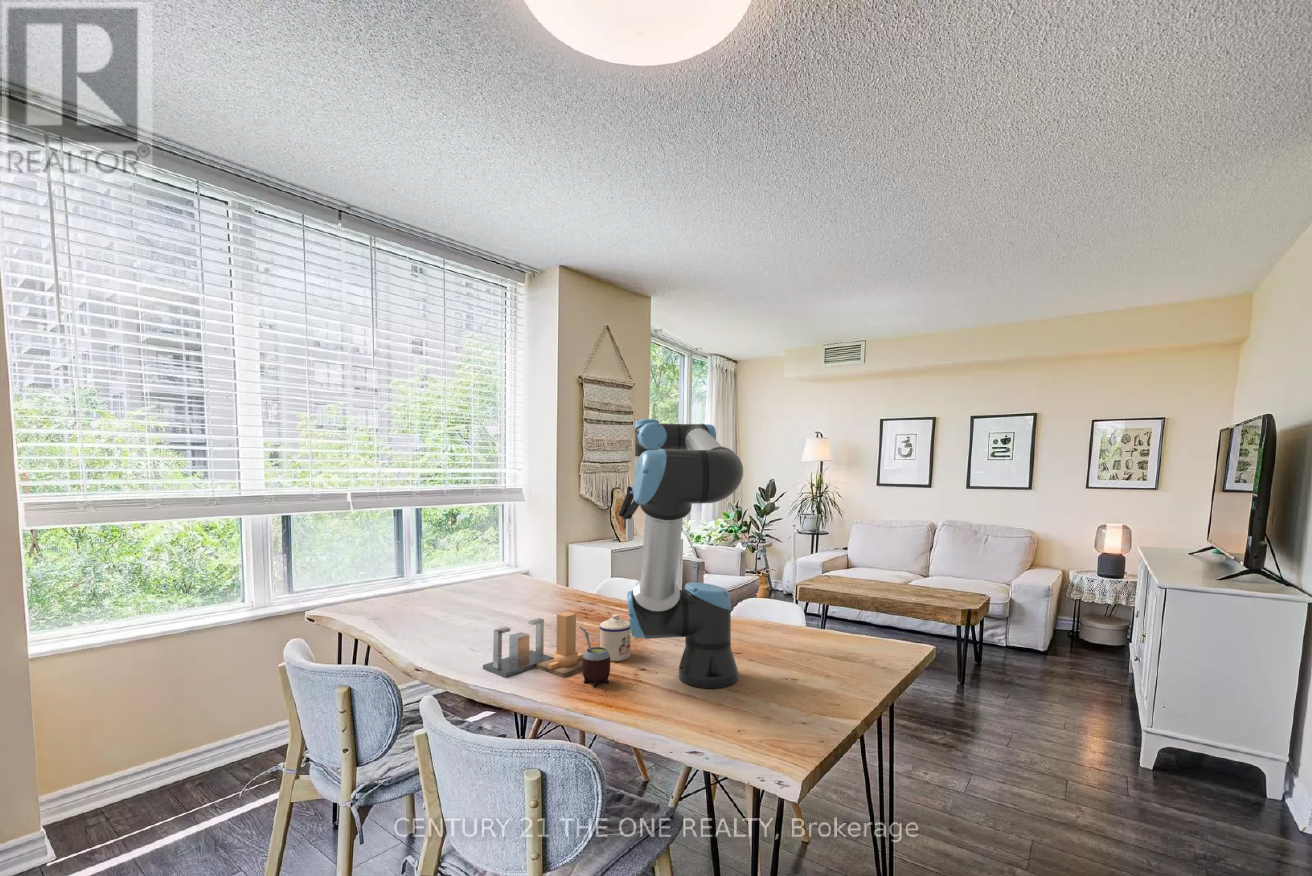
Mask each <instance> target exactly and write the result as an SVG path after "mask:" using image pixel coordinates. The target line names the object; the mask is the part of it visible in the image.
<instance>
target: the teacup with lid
mask: <svg viewBox="0 0 1312 876" xmlns="http://www.w3.org/2000/svg"><path fill="white" fill-rule="evenodd" d="M599 629H600V630H599V631H600V632H599V647H603V648H605V649H607V651H608V652H609V654H610V660H611V662H621V661H622V662H623V661H626V660H627V659H629V658H630V657H631V629H630V621H628V620H625V619H623V618H621V617H620V615H619V614H617V613H616V614H615V613H614V614H612V615H611V617H610V618H609V619H607V620H604V621H602V622H601V623H600V624H599Z"/></svg>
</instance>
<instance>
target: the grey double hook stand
mask: <svg viewBox="0 0 1312 876" xmlns="http://www.w3.org/2000/svg"><path fill="white" fill-rule="evenodd" d="M528 625H531V626H535V650H532V649H531V650H530V637H531V635H530V634H529V633H525V632H523V631H521V632H520V631H519V632H516V633H513V634H509V642H508V644H509V647H508V649H509V650H508V657H505V658H504V657H503V658H502V656H503V655H502V654H503V653H502V652H503V650H502V649H503V634H506V633H510V632H511V628H510V627H507V626H504V627H499V628H496V629H493V646H492V647H493V648H492V649H493V653H492V655H493V656H492V662H488V663H485V664H482V669H483V670H485V671H488V672H490V673H493V674H495V675H498V676H500V677H503V678H508V677H510V676H514V675H517V674H520V673H522V672H526V671H529V670H532V669H535V668H536V664H538V663H541V662H544V661H547V660H550V659H553V658H554V656H551V655H548V654H544V652H545V651H544V648H545V647H544V642H545V641H544V640H545V638H544V637H545V633H544V632H545V631H544V630H545V619H543V618H540V617H539V618H534V619H531V620H528Z"/></svg>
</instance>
